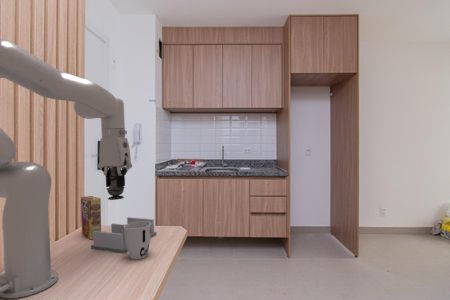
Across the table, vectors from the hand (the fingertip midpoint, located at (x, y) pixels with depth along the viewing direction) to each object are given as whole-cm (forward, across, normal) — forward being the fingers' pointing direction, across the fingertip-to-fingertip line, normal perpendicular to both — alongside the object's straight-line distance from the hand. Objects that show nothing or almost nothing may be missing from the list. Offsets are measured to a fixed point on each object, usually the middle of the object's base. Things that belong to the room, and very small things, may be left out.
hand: (115, 186), depth 95 cm
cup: (+21, -13, +6) cm, 25 cm away
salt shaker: (+4, 0, 0) cm, 4 cm away
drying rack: (+21, 0, -4) cm, 22 cm away
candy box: (+21, +17, -5) cm, 28 cm away
